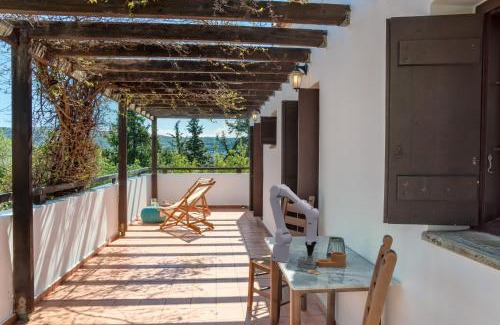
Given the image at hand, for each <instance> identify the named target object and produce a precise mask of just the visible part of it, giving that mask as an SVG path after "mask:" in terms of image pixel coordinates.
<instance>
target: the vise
mask: <svg viewBox="0 0 500 325" xmlns="http://www.w3.org/2000/svg"><path fill="white" fill-rule="evenodd" d="M318 259H319V258H316V259H314V260H313V261H312V263H306V256H304V255H300V256H299V257H298V259H297V268H301V269H307V268H309V269H310V270H315V269H316V267H317V266H316V263H315V262H318ZM315 266H316V267H315ZM314 268H315V269H314ZM309 269H308V270H309Z"/></svg>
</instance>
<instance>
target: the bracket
mask: <svg viewBox="0 0 500 325" xmlns="http://www.w3.org/2000/svg"><path fill="white" fill-rule="evenodd" d="M346 255H347V254H346V253H345V252H339V251H331V252H330V258H317V259H318V262H315V263H316V267H317V266H318V268H322V267H333V268H339V269H340V268H345V267H346V259H347V258H346V257H347V256H346Z"/></svg>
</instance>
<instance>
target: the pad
mask: <svg viewBox="0 0 500 325" xmlns="http://www.w3.org/2000/svg"><path fill="white" fill-rule="evenodd" d="M320 273H321V270H316V269H308V270H307V271H306V274H311V275H316V274H317V276H319V275H320Z"/></svg>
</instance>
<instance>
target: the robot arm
mask: <svg viewBox="0 0 500 325" xmlns="http://www.w3.org/2000/svg"><path fill="white" fill-rule="evenodd" d="M269 194H270V195H269V202H270V203H269V204H270V207H271V211H272V216H273V219H274V224H275V228H276V231H275V233H274V236H275V237H274V242H275V243H276V244H273V247H272V258H271V261H272V262H273V261H274V262H279V263H280V262H281V263H289V262H290V261H291V258H290V249H291V248H290V246H291V243H292V241H293V236H292V234H291V233H290V229H288V228H287V226H286V223H285V219H284V214H283V210H282V207H281V202H280V201H281V200H282V198H283V197H287V198H288V199H289V200H291V201H292V202H293V203H295V204H296V208H297V209H298V210H300V212H302V213H303V214H304V216H305V218H306V231H305V232H306V233H305V234H306V235H305V241H306V242H305V243H304V244H305V248H306V254H307V256H312V253H313V254H314V250H315V246H316V244H317V242H318V241H319V239H318V236H317V234H318V220H319V218H320V216H321V213H320V211H319V209H318V208H314V206H312V205H311V204H309V203H308V200H305V199H301V198H300V197H298V196H297V194H296V193H294V192H293V191H292V190H291V189H290V187H289V186H287V185H286V184H284V183H282V184H273V185H272V186H271V187H270V189H269Z"/></svg>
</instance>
